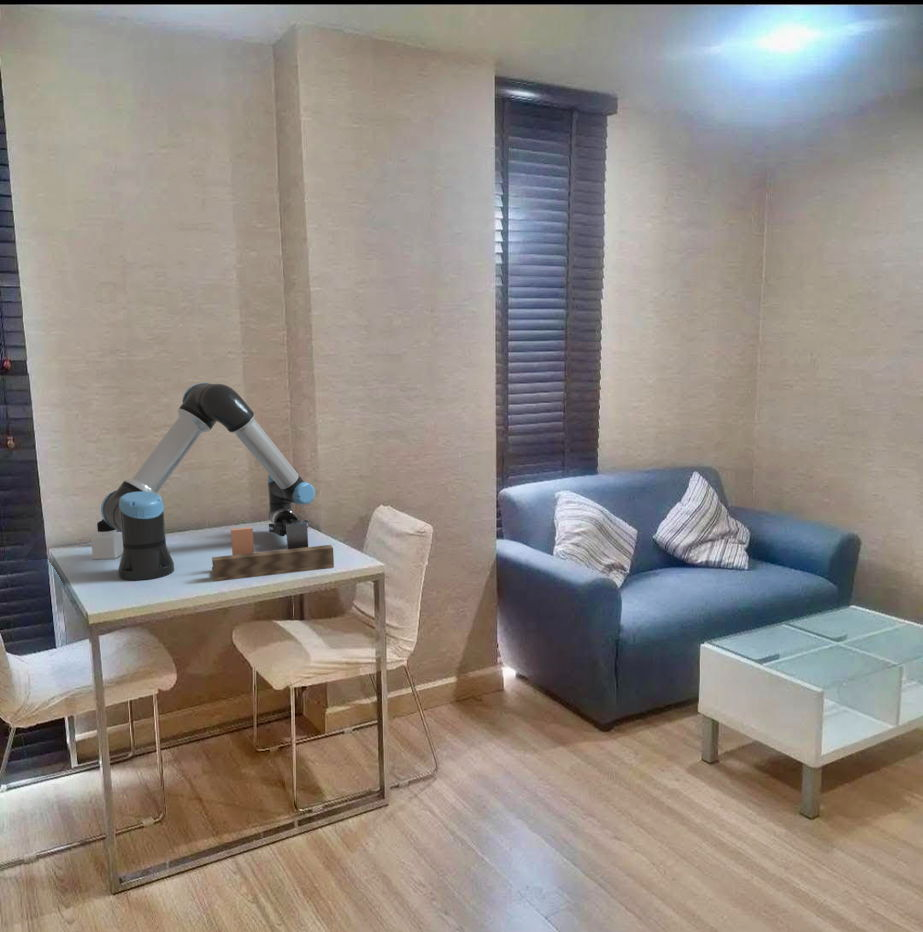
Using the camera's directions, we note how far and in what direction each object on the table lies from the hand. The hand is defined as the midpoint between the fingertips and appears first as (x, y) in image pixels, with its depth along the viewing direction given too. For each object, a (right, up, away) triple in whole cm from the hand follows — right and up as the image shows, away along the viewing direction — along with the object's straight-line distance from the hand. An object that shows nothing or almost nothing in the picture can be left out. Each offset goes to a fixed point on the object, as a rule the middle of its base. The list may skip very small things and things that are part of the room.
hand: (296, 536), depth 240 cm
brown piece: (-5, -9, -10) cm, 14 cm away
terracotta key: (-13, -7, -10) cm, 18 cm away
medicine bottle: (-62, -7, +8) cm, 63 cm away
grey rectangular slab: (+2, -6, -5) cm, 8 cm away
